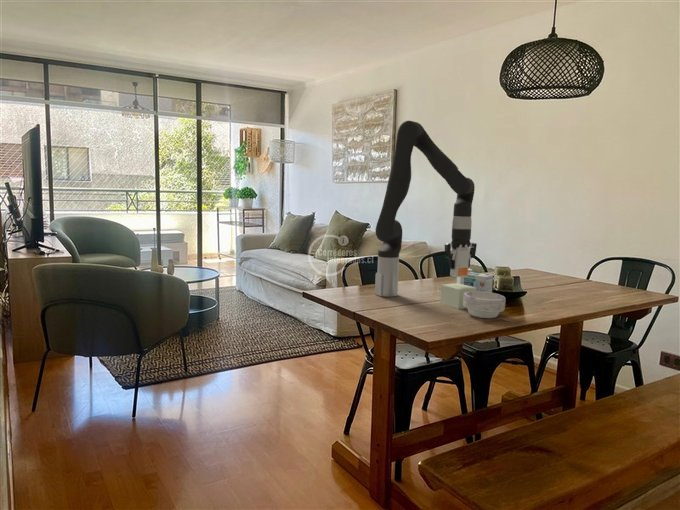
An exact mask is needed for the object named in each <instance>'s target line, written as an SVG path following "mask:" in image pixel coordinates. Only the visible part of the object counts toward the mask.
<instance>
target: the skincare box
mask: <svg viewBox="0 0 680 510" xmlns="http://www.w3.org/2000/svg"><path fill="white" fill-rule="evenodd" d="M456 250H457V255H456V257H455V259H454V260H455V267H454V269H449V270H450V272H449V275H450V276H451V277H454V278H457V277H467V276H468V265H469V252H470V247H468V248H465V247H462V248H456ZM456 250H455V249H454V248H452V247H451V251H452V252H455V251H456Z"/></svg>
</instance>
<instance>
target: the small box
mask: <svg viewBox="0 0 680 510" xmlns="http://www.w3.org/2000/svg"><path fill="white" fill-rule="evenodd" d="M470 272H474V270H473V269H471V268H470V267H469V269H468V273H470ZM456 283H459V284H463V285H464V277H456Z"/></svg>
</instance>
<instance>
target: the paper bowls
mask: <svg viewBox="0 0 680 510" xmlns="http://www.w3.org/2000/svg"><path fill="white" fill-rule="evenodd" d="M506 301H507V300H506V297H505V296H504V295H502V294H499V293H496V292H492V293H491V292H482V291H470V292H466V293H464V299H463V306H464V307H465V308H464V309H467V311H468V314H469V315H470V316H472V317H475V318H479V319H493V318H497V317H498V316H499V315H500V313H502V312H504V311H505V309H506V308H505V307H506Z"/></svg>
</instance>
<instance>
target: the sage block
mask: <svg viewBox="0 0 680 510" xmlns="http://www.w3.org/2000/svg"><path fill="white" fill-rule="evenodd" d="M470 291H476V288H475V287H471V286H467V285H463V284H459V283H457V282H455V283H445V284H444V283H443V284H440V299H439V300H440V301H439V303H440V304H441V305H445V306H447V307H451V308H454V309H458V310H461V309H466V308H465V307H464V306H463V299H464V293H466V292H470Z"/></svg>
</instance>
